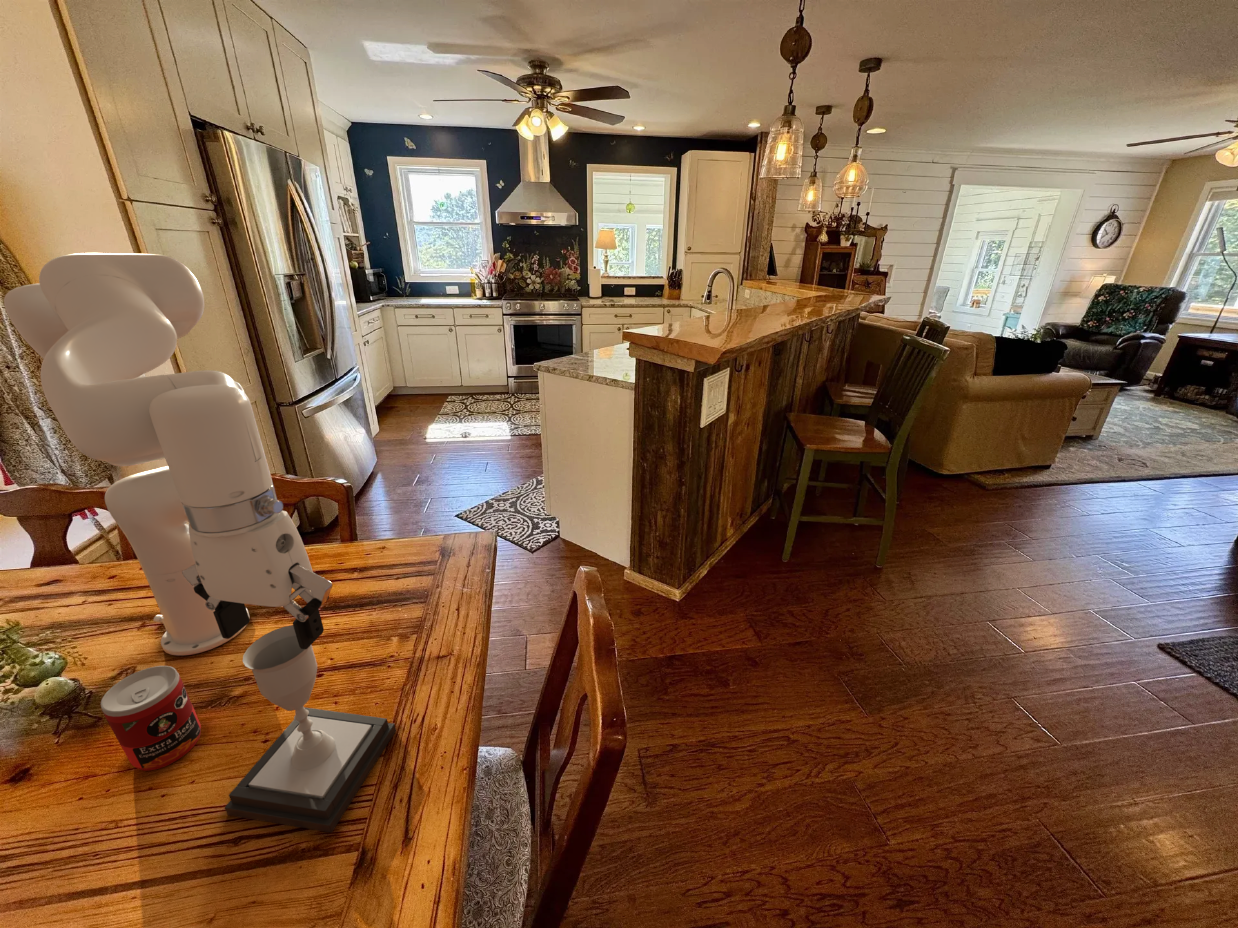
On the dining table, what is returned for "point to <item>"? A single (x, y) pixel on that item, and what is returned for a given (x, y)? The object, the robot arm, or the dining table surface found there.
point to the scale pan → (320, 778)
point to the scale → (303, 808)
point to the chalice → (290, 689)
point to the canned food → (152, 717)
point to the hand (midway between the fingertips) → (274, 635)
